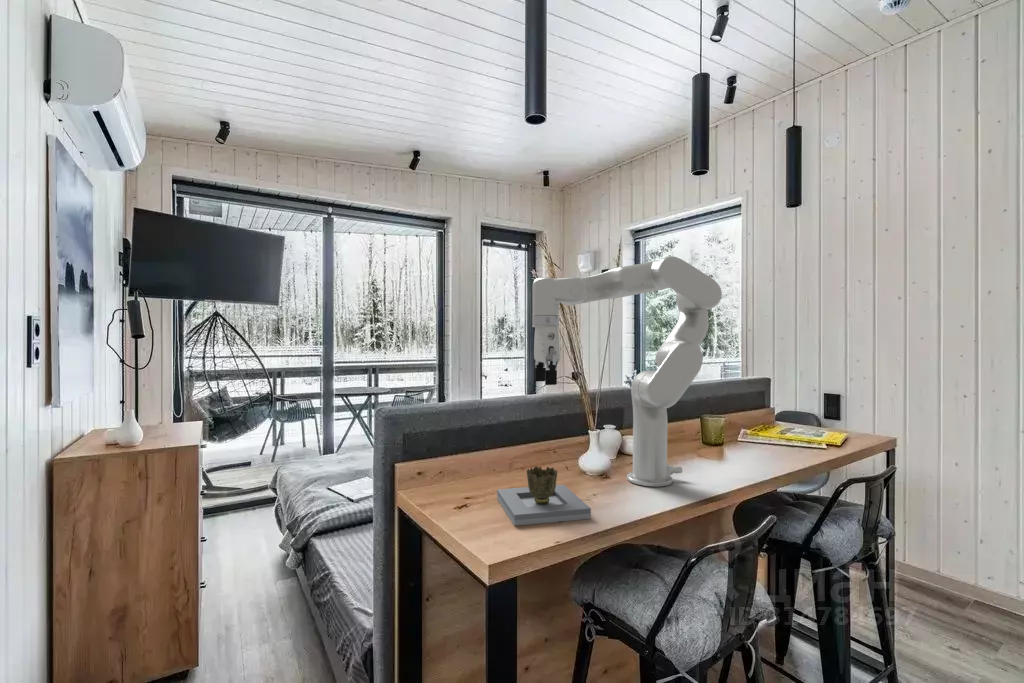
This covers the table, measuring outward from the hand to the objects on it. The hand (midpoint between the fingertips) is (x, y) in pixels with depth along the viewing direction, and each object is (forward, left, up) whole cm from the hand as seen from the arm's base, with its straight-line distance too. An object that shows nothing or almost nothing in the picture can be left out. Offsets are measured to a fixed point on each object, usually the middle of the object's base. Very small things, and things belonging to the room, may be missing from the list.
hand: (545, 382), depth 138 cm
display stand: (+7, +19, -28) cm, 35 cm away
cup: (+7, +19, -27) cm, 34 cm away
